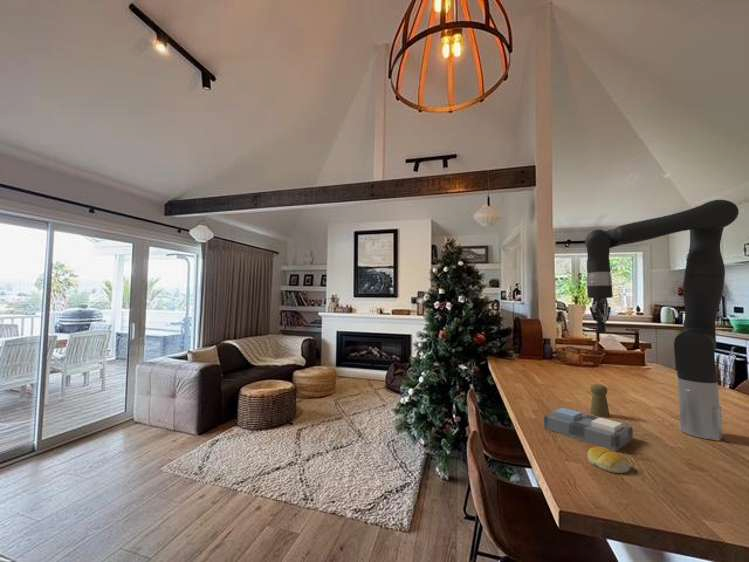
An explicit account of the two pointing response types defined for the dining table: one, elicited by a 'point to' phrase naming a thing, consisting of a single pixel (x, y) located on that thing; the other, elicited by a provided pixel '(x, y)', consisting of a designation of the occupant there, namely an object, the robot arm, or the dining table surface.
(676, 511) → the dining table surface
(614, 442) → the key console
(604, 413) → the cork
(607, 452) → the bread roll
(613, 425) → the ivory key
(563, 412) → the slate-blue key
